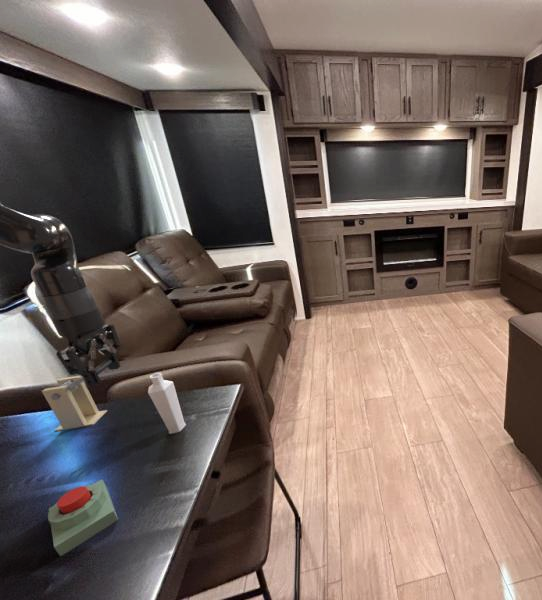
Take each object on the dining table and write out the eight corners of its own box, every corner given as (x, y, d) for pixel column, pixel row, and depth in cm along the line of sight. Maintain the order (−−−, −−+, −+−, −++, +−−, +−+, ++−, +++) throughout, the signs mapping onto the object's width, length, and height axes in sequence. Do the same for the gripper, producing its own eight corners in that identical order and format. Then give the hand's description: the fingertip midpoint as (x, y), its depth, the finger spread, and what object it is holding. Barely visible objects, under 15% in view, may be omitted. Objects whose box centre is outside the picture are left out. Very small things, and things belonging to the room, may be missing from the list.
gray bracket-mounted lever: (115, 364, 76) (107, 356, 75) (100, 375, 71) (91, 368, 70) (73, 389, 76) (64, 382, 75) (56, 402, 72) (46, 395, 71)
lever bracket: (110, 412, 80) (90, 372, 76) (93, 429, 75) (71, 387, 71) (74, 418, 79) (52, 378, 75) (54, 435, 74) (30, 393, 69)
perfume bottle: (175, 424, 74) (152, 369, 69) (193, 423, 74) (172, 368, 69) (160, 439, 70) (135, 382, 65) (179, 438, 70) (156, 381, 65)
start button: (60, 505, 52) (55, 498, 52) (89, 489, 55) (85, 482, 54) (63, 518, 50) (57, 511, 49) (93, 501, 53) (88, 494, 52)
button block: (54, 517, 54) (43, 500, 53) (106, 487, 59) (98, 471, 58) (60, 556, 48) (48, 539, 47) (118, 519, 53) (109, 503, 52)
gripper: (80, 301, 74) (108, 362, 80) (23, 326, 61) (62, 398, 67) (115, 297, 75) (141, 358, 81) (67, 321, 62) (102, 392, 68)
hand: (105, 376), depth 74 cm, fingers open, 6 cm apart
